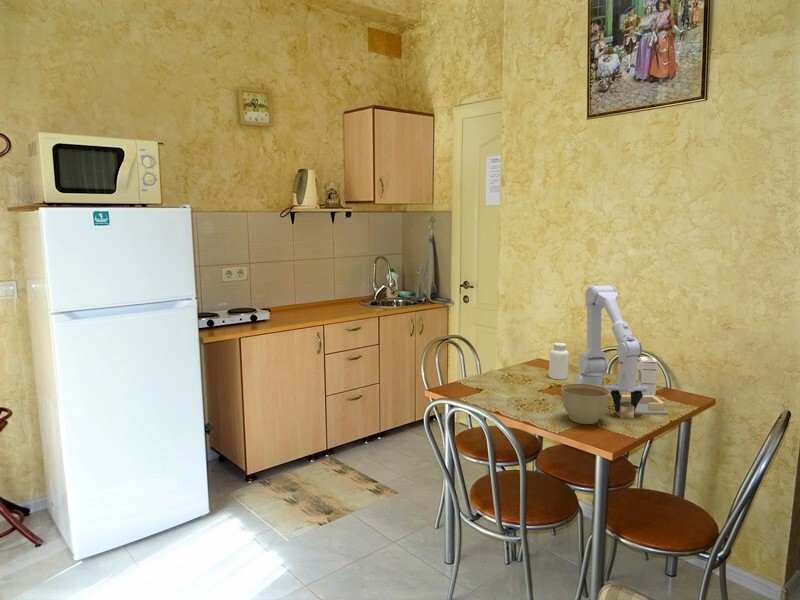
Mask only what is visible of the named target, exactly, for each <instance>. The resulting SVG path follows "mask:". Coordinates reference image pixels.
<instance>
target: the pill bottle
mask: <svg viewBox="0 0 800 600" xmlns="http://www.w3.org/2000/svg"><path fill="white" fill-rule="evenodd" d="M569 355H570V353H569V351H568V350H567V344H566V343H563V342H554V343H553V347H552V349H551V350H550V352H549V361H548V362H549V364H548V365H549V366H548V377H549V378H551V379H553V380H562V381H563V380H566V379H568V373H569V372H568V371H569V359H570V356H569Z"/></svg>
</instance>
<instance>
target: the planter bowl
mask: <svg viewBox="0 0 800 600" xmlns="http://www.w3.org/2000/svg"><path fill="white" fill-rule="evenodd" d="M560 391H561V401H562V405H563V408H564V410H565V411H566V412H567V414H568V417H569V420H571V421H572V422H575V423H578V424H584V425H593V424H597V423H598V422H599V419H600V418H601V417H602V416H603V415H604V414H605V412H606V410H607V409H608V406H609V403H610V397H611V392H610V391H609V390H608V389H606V388H605V386H604V387H603V386H602V387H601V386H598V385H592V384H583V383H576V382H574V383H573V382H572V383H566V384H564V385H562V386H561V387H560Z"/></svg>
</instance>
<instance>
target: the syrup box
mask: <svg viewBox="0 0 800 600" xmlns="http://www.w3.org/2000/svg"><path fill="white" fill-rule="evenodd" d="M638 358H639V360H638V374H637V375H638V376H637V385H641V386H647V387H648V393H645V392H642V394H643V395H654V396H656V391H657V390H656V389H657V388H656V387H657V371H658V360H657V359H656V358H655V357H654V356H653V357H652V356H639V357H638Z"/></svg>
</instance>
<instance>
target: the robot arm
mask: <svg viewBox="0 0 800 600" xmlns="http://www.w3.org/2000/svg"><path fill="white" fill-rule="evenodd" d="M618 297H619V294H618V290H617V287H615V285H612V284H609V285H589V286H588V287H587V289H586V290H585V306H586V349H585V350H583V351H582V352H581V353H580V354H579V360H578V364H577V365H578V366H577V367H578V370H579V372H580V373H577V374H576V375H575V376H576V377H575V383H583V384H592V385H598V386H601V387H603V385H602V384H603V376H605V373H606V372H607V371H608V370H609V369H608V368H609V362H608V359H607V354H606V353H605V352H604V351H603V350H602V310H603V309H604V310H605V311H606V313H607V315H608V317H609V318H610V320H611V322H612V326H611V330H612V333H613V335H614V338H615V340H616V342H617V346H616V353H617V356H618V357H617V359H618V362H619V363H618V364H619V367H618V377H617V378H618V380H617V383H616V384H615V383H614V384H607V385H604V388H606V389H608V390H609V391H610V392H611V393H610V397H611V399H612V401H613V404H614V411H615V413H616V412H619V410H620V400H621V395H622V394H621V392H622V393H627V392H629V393H630V395H631V405H633V406H634V412H635V409H636V407H637V404H638V403H639V401H640V400H641V398H642V397H643V394H642V392H645V393H648V387H647V386H641V385H638V384H637V372H638V371H637V370H638V358H639V357H641V354H642V352H643V347H642V343H641V341H640V340H639V339H637V337H634V335H633V332H632V330H631V328H630V326H629V323H628V322H627V321H624V320H623V316H622V313H621V311H620V308H619V305H618V302H617V301H618V299H619V298H618Z"/></svg>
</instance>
